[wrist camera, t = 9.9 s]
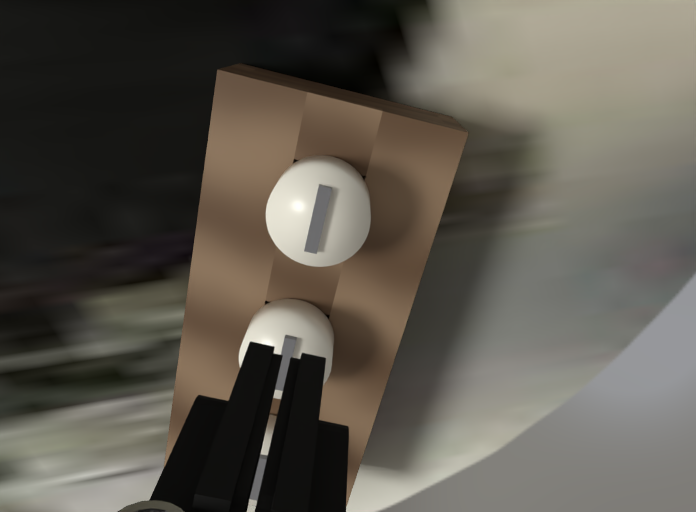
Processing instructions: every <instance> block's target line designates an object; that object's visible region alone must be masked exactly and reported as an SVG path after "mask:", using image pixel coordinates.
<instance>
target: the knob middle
mask: <svg viewBox="0 0 696 512" xmlns="http://www.w3.org/2000/svg"><path fill="white" fill-rule="evenodd" d="M250 341H251V342H256V343H260V344H265V345H270V346H274V347H275V348H274V354H279V355H283V357H282V361H281V366H280V370H279V375H278V379H277V383H276V388H275V392H274V397H273V398H276V399H281V396H282V392H283V388H284V383H285V379H286V375H287V371H288V366H289V362H290V358H291V357H293V358H297V359H300V357H301V354H302V353H306V354H311V355H315V356H320V357H325V358H326V364H325V373H324V381H323V385H324V384H325V382H326V381H327V379H328V377H329V375H330V372H331V367H332V357H333V346H334V332H333V328H332V325H331V323H330V321H329V320H328V318H327V317H326V315H325V314H324V313H323V312H322V311H321V310H320V309H318V308H317V307H315V306H314V305H312V304H310V303H308V302H305V301H302V300H297V299H280V300H276V301H272V302H270V303H268V304H266V305H264V306H263V307H261V308H260V309H259V310H258V311H257V312H256V313H255V314H254V316H253V317H252V319H251V321H250V324H249V326H248V329H247V332H246V334H245V337H244V339H243V342H242V344H241V347H240V351H239V365H240V367H241V365H242V362H243V359H244V356H245V353H246V351H247V348H248V345H249V343H250Z"/></svg>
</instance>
